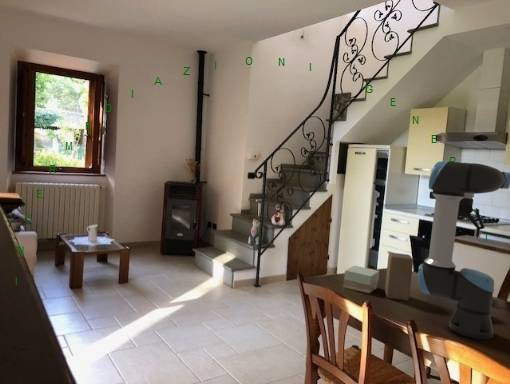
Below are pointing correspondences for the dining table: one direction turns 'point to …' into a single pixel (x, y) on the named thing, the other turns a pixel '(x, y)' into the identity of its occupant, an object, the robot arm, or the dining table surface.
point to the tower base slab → (360, 286)
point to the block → (398, 276)
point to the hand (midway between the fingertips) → (459, 239)
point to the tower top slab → (361, 275)
